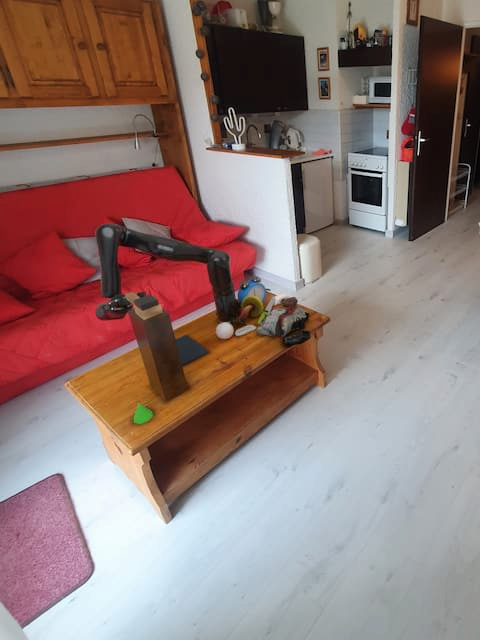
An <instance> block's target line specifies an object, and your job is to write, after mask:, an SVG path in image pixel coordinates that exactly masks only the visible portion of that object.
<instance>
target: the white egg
mask: <svg viewBox="0 0 480 640" xmlns="http://www.w3.org/2000/svg"><path fill="white" fill-rule="evenodd" d="M234 330H235V329H234V326H233V325H232V324H231V323H228V322H223V323H219V324H218V325H217V326H216V328H215V334H216V336H217V337H218V339H221V340H228V339H230V338H232V337H233V335H234V334H235V332H234Z"/></svg>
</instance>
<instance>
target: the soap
mask: <svg viewBox="0 0 480 640" xmlns="http://www.w3.org/2000/svg"><path fill="white" fill-rule="evenodd" d="M257 329H258V327H257V326H256V325H254V324H247V325H244V326H242V327H240V328H238V329H236V330H235V332H234V336H237V337H239V336H243V335H245V334H248V333H250V332H253V331H254V330H257Z"/></svg>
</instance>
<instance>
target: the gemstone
mask: <svg viewBox="0 0 480 640" xmlns="http://www.w3.org/2000/svg"><path fill="white" fill-rule="evenodd" d="M153 417H154V413H153V411H152V409H149V408H148V407H146V406H144V405H142V404H141V403H138V404H137V407H136V409H135V413H134V415H133V423H134V424H138V425H141V424H144V423H147V422H149V421H150V420H151V419H152V418H153Z"/></svg>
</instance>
